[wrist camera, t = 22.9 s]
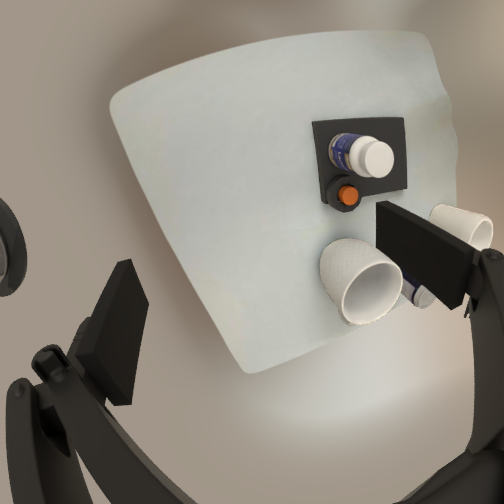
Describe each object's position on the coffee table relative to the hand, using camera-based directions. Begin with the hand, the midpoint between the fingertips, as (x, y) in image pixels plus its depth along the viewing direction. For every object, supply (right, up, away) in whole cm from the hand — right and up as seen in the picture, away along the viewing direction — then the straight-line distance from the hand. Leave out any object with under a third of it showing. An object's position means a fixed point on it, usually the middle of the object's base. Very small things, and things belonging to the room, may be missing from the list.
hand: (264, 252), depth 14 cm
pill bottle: (+13, +16, +26) cm, 33 cm away
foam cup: (+39, +7, +37) cm, 54 cm away
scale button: (+14, +9, +27) cm, 32 cm away
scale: (+18, +16, +28) cm, 37 cm away
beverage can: (+29, -3, +39) cm, 49 cm away
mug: (+15, -2, +36) cm, 39 cm away
